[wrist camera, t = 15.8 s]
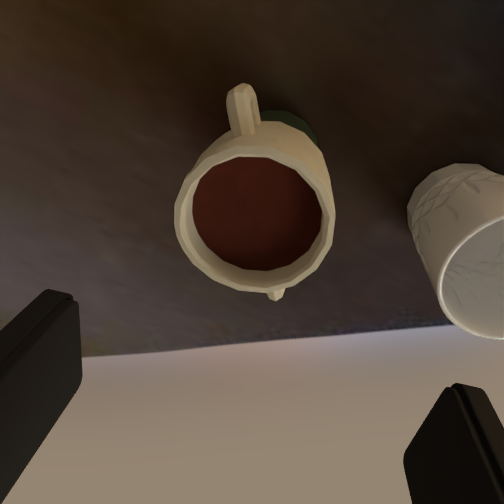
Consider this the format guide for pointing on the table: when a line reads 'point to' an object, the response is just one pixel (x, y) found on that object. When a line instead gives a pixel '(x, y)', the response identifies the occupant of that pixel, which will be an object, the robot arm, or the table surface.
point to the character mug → (257, 201)
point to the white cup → (463, 244)
